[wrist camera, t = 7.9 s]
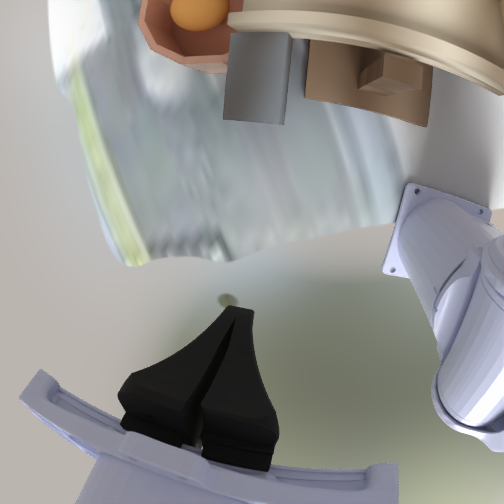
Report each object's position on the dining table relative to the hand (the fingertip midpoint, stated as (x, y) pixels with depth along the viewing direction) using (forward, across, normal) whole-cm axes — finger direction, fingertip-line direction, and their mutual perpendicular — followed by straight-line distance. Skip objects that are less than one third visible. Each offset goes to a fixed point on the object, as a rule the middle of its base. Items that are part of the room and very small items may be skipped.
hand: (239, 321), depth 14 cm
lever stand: (+10, -6, -18) cm, 21 cm away
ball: (+7, +6, -18) cm, 20 cm away
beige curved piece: (+6, -6, -15) cm, 18 cm away
